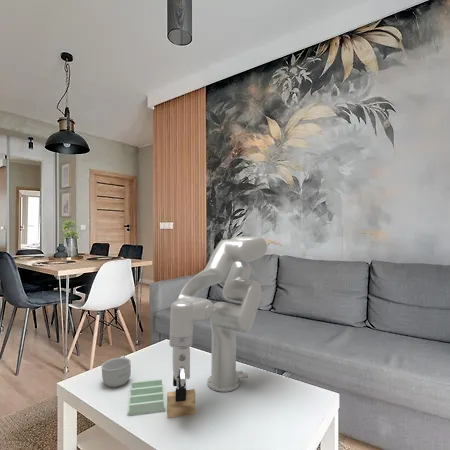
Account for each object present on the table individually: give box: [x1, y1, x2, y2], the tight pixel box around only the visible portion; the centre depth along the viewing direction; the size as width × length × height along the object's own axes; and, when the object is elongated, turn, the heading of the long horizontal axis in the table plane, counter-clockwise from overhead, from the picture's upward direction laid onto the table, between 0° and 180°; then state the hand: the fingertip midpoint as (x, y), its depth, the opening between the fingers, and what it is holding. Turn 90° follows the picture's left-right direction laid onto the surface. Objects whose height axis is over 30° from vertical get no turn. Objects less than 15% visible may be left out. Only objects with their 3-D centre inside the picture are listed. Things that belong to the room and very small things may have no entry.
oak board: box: [166, 388, 196, 419], centre depth 102 cm, size 9×3×7 cm, turn 104°
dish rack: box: [127, 378, 166, 417], centre depth 109 cm, size 12×16×3 cm
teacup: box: [100, 355, 132, 388], centre depth 122 cm, size 14×11×8 cm
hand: (179, 392), depth 101 cm, fingers open, 9 cm apart
